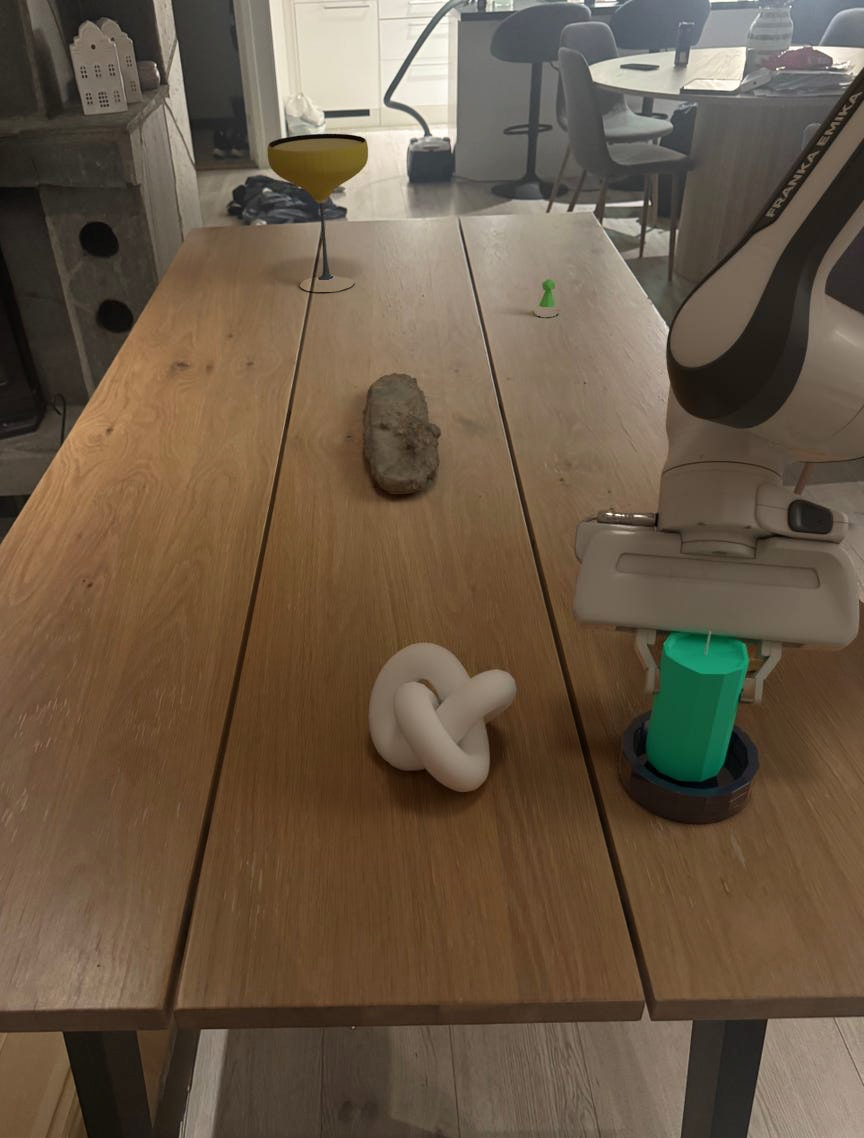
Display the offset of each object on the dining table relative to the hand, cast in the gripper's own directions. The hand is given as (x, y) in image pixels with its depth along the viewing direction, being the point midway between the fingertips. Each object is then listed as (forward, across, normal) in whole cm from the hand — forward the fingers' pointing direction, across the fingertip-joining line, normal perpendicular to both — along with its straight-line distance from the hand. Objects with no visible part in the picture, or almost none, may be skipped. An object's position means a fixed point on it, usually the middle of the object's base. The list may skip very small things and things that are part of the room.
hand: (702, 699), depth 71 cm
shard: (-8, +4, +20) cm, 22 cm away
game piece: (-74, -20, +86) cm, 115 cm away
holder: (+6, 0, +6) cm, 9 cm away
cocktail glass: (-83, -63, +96) cm, 141 cm away
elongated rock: (-35, -35, +48) cm, 69 cm away
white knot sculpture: (+6, -19, +6) cm, 21 cm away
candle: (+4, 0, +5) cm, 7 cm away
